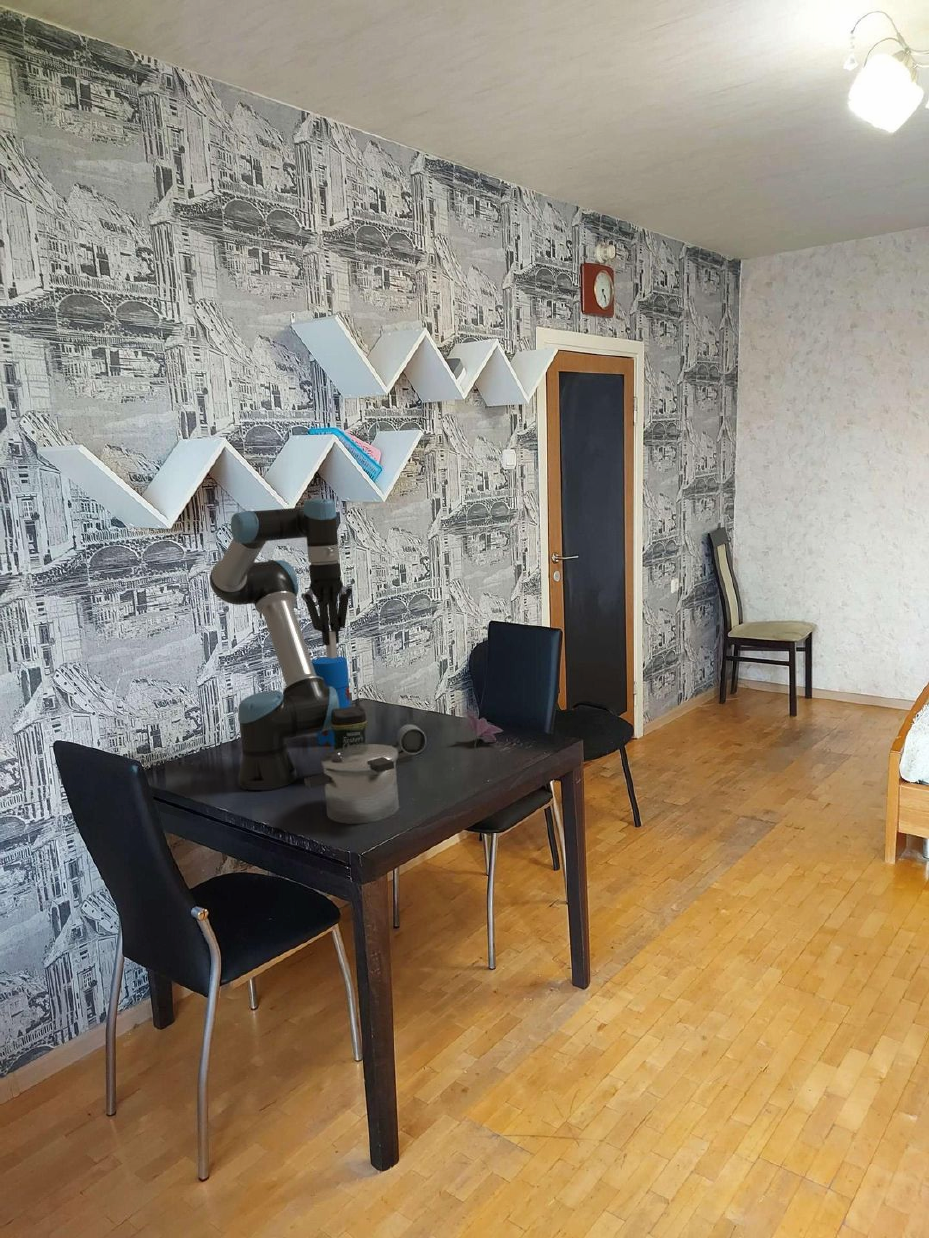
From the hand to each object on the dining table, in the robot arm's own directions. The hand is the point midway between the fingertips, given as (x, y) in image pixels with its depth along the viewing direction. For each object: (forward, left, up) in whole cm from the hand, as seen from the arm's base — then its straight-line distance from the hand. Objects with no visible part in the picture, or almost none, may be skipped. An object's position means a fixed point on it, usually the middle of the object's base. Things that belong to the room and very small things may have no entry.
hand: (332, 657), depth 219 cm
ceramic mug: (-15, +28, -35) cm, 47 cm away
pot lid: (+18, -3, -22) cm, 29 cm away
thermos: (-40, +18, -35) cm, 56 cm away
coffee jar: (-8, +7, -35) cm, 36 cm away
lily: (-5, +48, -35) cm, 59 cm away
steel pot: (+16, -3, -34) cm, 38 cm away
